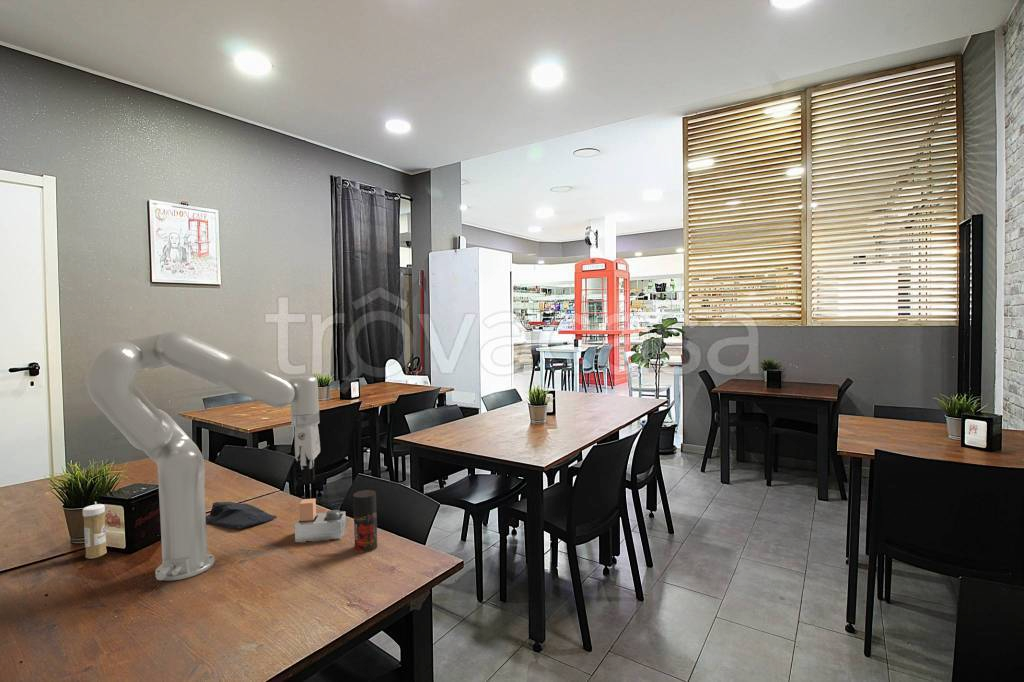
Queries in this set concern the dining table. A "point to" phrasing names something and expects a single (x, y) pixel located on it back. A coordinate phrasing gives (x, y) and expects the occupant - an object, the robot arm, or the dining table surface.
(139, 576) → the dining table surface
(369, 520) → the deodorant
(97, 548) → the sprinkles bottle
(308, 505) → the button square
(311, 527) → the mount
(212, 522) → the dark slate chunk
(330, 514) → the knob round
